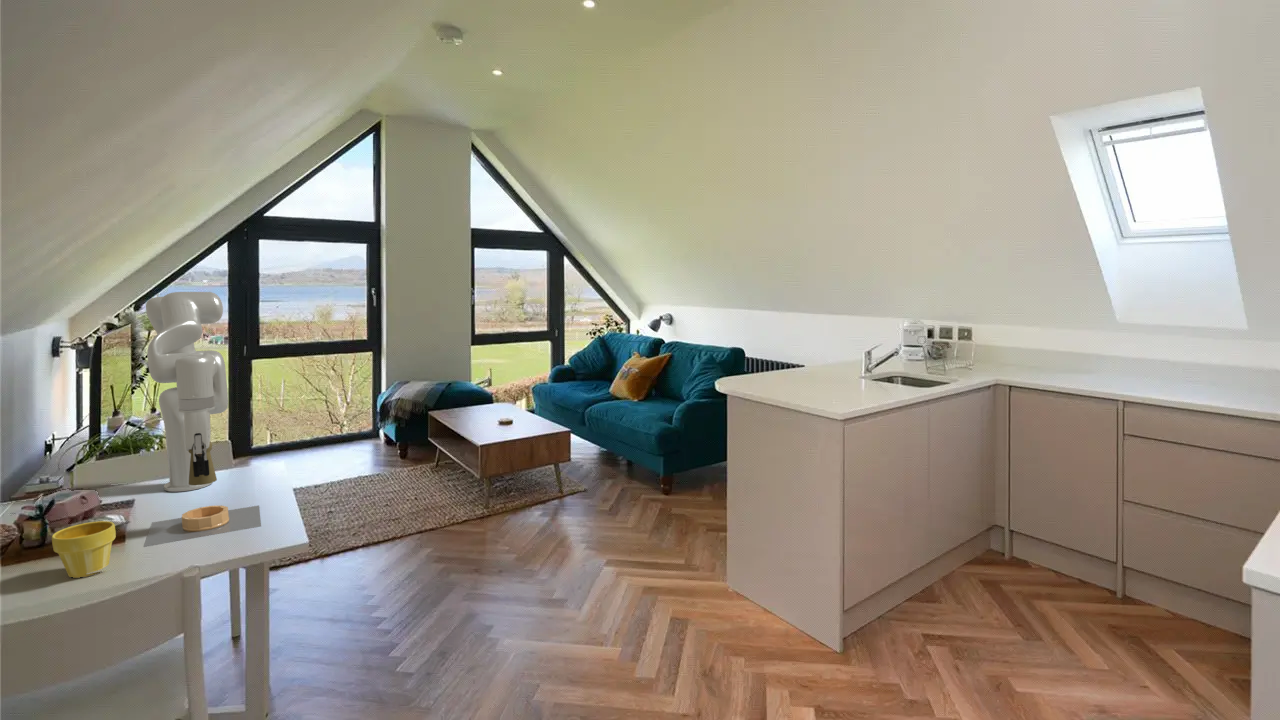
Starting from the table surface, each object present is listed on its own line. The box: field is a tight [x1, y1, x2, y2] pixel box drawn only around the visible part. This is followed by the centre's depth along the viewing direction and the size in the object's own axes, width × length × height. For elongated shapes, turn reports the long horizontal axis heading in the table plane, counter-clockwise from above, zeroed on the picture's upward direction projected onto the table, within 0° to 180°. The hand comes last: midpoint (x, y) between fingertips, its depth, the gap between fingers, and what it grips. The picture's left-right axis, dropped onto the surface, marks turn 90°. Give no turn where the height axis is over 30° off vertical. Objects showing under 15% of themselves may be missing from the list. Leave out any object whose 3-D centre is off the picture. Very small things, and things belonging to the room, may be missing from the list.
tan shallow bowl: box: [181, 505, 229, 532], centre depth 161 cm, size 10×10×3 cm
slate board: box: [143, 505, 262, 548], centre depth 161 cm, size 18×24×1 cm
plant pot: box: [51, 520, 117, 579], centre depth 136 cm, size 10×10×10 cm
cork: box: [188, 439, 218, 485], centre depth 159 cm, size 6×6×11 cm
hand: (202, 472), depth 159 cm, fingers closed on cork, 4 cm apart
